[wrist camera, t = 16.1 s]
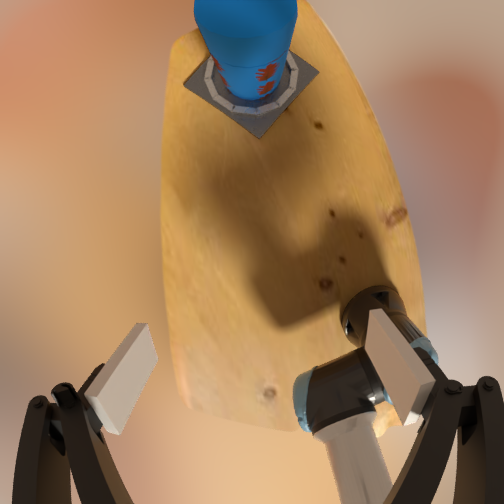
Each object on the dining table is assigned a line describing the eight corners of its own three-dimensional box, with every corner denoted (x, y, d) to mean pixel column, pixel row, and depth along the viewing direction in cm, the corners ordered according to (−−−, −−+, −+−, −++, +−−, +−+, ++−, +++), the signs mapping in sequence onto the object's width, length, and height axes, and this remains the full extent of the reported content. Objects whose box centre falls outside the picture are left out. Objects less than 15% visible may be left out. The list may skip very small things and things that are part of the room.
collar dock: (318, 73, 42) (321, 69, 39) (259, 139, 46) (259, 137, 44) (244, 25, 39) (243, 19, 37) (184, 87, 43) (181, 83, 41)
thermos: (241, 111, 44) (224, 57, 20) (211, 69, 41) (174, -2, 17) (292, 84, 42) (320, 16, 18) (261, 43, 39) (262, -39, 16)
